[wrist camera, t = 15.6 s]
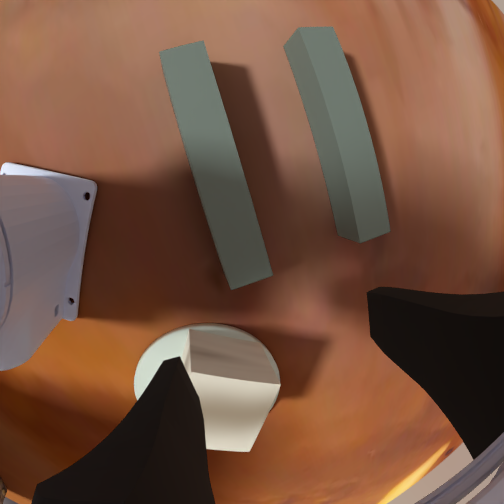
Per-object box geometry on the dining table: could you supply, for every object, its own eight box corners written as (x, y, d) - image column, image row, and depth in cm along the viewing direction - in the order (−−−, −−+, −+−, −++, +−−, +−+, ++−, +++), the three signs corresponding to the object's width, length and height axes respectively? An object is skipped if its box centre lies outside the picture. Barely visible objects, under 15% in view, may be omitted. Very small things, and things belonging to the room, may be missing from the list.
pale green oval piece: (254, 437, 23) (256, 443, 22) (130, 421, 20) (129, 427, 20) (296, 336, 22) (300, 341, 21) (145, 307, 19) (144, 312, 18)
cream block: (236, 406, 21) (249, 452, 16) (172, 396, 20) (172, 444, 15) (260, 342, 20) (280, 384, 15) (189, 328, 19) (191, 371, 14)
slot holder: (366, 225, 21) (390, 231, 18) (224, 275, 19) (231, 290, 17) (314, 43, 17) (332, 26, 14) (162, 70, 16) (159, 51, 13)
